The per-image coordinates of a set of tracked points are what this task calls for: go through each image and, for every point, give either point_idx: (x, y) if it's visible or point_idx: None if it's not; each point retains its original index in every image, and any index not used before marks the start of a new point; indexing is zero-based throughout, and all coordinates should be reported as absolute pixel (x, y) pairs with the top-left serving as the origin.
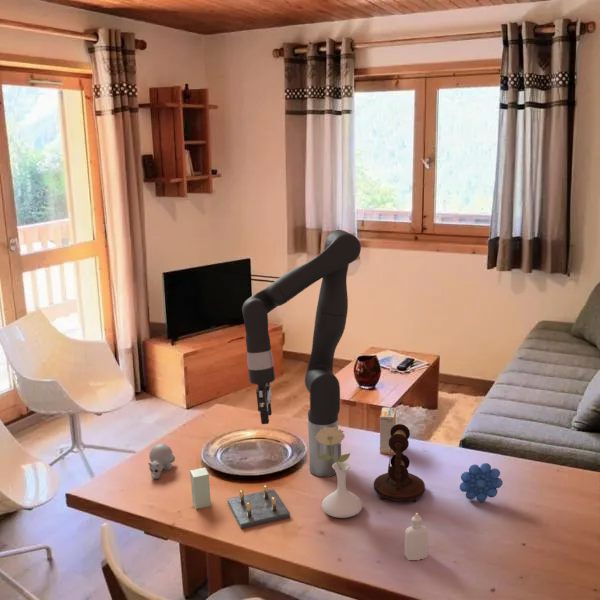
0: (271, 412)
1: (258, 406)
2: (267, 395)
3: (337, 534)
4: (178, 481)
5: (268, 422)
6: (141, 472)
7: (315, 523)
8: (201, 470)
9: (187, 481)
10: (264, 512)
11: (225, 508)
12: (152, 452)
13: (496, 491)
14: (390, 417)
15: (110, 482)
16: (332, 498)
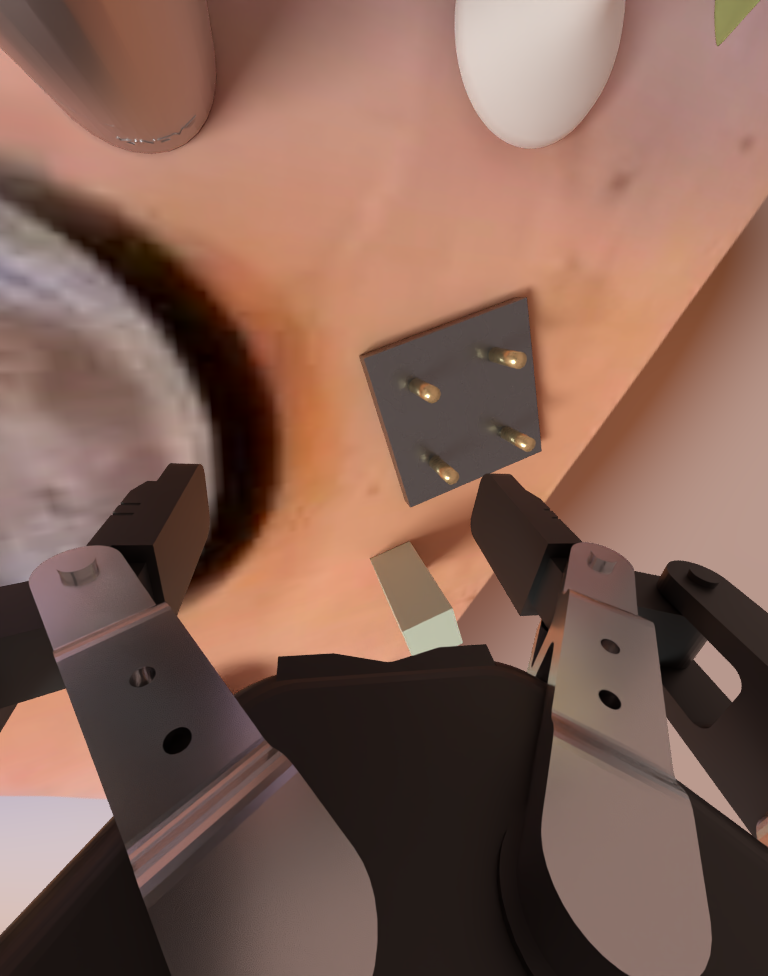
0: (183, 470)
1: (708, 693)
2: (654, 745)
3: (648, 117)
4: (268, 653)
5: (510, 477)
6: None
7: (569, 199)
8: (422, 635)
9: (268, 632)
10: (505, 387)
11: (428, 501)
12: None
13: None
14: None
15: None
16: (582, 69)
